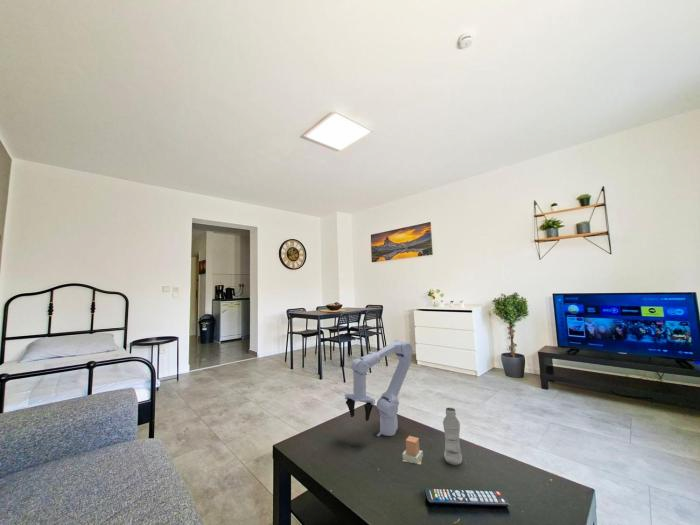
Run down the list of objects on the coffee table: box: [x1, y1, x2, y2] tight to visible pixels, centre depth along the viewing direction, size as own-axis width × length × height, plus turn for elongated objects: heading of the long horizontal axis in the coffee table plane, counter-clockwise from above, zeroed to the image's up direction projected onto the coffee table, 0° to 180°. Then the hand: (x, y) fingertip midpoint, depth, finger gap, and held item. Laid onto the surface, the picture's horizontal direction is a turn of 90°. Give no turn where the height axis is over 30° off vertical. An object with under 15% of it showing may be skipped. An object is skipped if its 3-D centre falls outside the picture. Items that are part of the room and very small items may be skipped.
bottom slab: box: [402, 457, 423, 465], centre depth 110 cm, size 7×7×2 cm
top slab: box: [402, 449, 424, 465], centre depth 110 cm, size 6×6×2 cm
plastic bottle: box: [442, 407, 463, 466], centre depth 109 cm, size 6×7×20 cm
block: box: [405, 435, 420, 456], centre depth 110 cm, size 4×4×5 cm
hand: (359, 418), depth 125 cm, fingers open, 7 cm apart
